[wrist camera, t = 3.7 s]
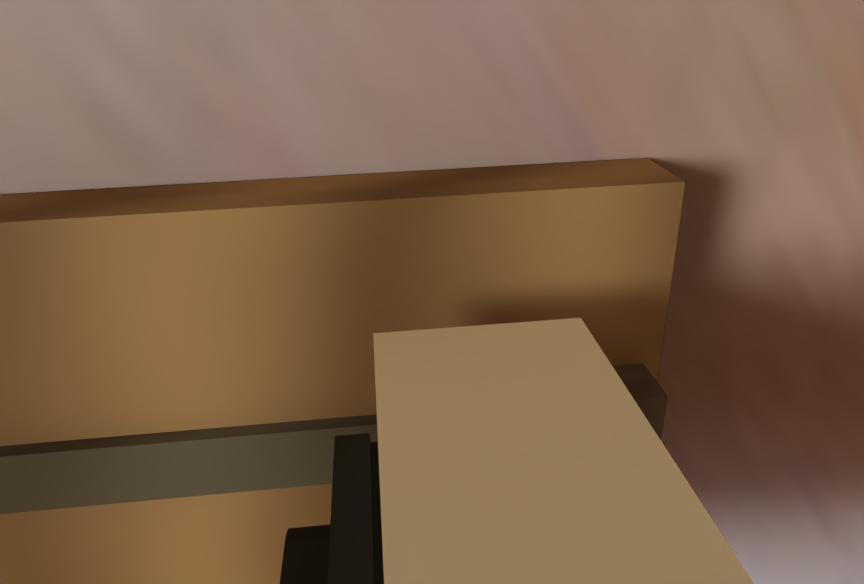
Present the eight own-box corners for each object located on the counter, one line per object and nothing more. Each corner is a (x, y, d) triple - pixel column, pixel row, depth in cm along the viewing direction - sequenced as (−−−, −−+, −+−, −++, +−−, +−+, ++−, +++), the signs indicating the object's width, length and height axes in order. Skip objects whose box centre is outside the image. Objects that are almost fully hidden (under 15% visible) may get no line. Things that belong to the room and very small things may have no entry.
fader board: (647, 157, 12) (716, 201, 9) (605, 536, 16) (646, 629, 13) (-768, 237, 10) (-1094, 313, 8) (-418, 640, 14) (-567, 767, 12)
